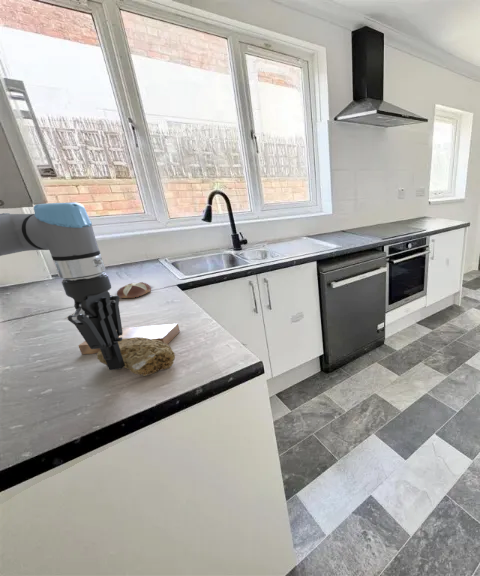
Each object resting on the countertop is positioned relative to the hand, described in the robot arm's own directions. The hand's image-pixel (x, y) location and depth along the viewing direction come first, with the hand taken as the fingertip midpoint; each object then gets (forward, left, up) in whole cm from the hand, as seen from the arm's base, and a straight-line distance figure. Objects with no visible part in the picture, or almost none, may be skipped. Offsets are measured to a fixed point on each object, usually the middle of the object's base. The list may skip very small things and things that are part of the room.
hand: (117, 367), depth 75 cm
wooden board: (-9, +21, -4) cm, 23 cm away
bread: (-34, +69, -4) cm, 77 cm away
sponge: (0, +7, -4) cm, 8 cm away
